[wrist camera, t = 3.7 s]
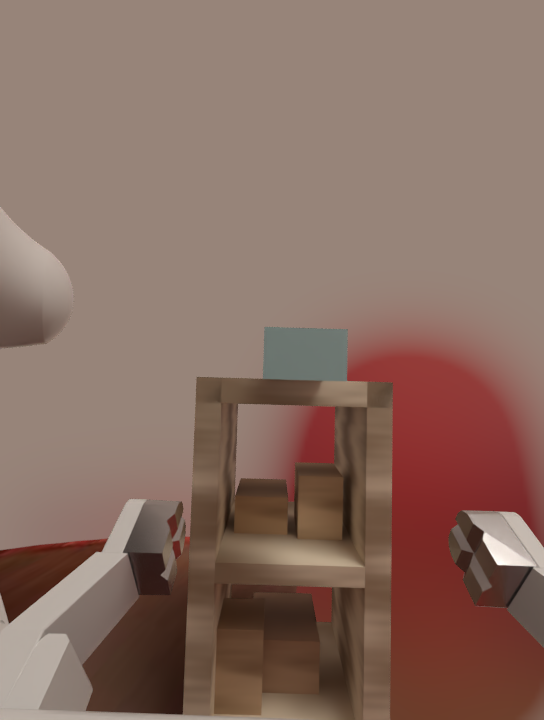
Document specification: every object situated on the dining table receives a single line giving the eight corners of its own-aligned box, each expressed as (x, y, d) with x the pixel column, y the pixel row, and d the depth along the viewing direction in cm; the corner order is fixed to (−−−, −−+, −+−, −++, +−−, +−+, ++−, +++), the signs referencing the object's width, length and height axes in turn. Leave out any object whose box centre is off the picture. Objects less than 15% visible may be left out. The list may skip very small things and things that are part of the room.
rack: (212, 630, 35) (221, 377, 36) (348, 635, 34) (352, 381, 36) (180, 764, 23) (196, 377, 24) (389, 771, 22) (392, 382, 24)
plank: (268, 379, 34) (268, 354, 34) (307, 380, 34) (308, 355, 34) (263, 379, 16) (264, 327, 16) (346, 381, 16) (347, 329, 16)
